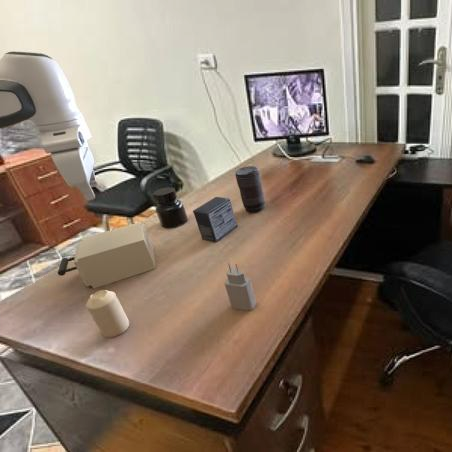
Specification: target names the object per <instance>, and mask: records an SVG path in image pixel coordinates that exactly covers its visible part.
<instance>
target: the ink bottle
mask: <svg viewBox="0 0 452 452" xmlns="http://www.w3.org/2000/svg"><path fill="white" fill-rule="evenodd" d="M152 195H153V197H154V200H155V203H156V204H157V205H156V207H155V212H156V215H157V218H158V220H159V223H160V226H161V227H162V228H165V229H171V228H176V227H180V226H182V225H184V224H185V223H187V221H188V215H187V212H186V209H185V205H184V203H183V202H182V200H180V199H178V194H177V192H176V189H175V187H173V186H171V187H170V186H169V187H163V188H162V187H161V188H159V189H156V190H155V191H154V192H153V193H152Z"/></svg>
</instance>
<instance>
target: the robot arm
mask: <svg viewBox="0 0 452 452" xmlns="http://www.w3.org/2000/svg"><path fill="white" fill-rule="evenodd" d="M24 121H31V122H32V123H33V125H34V127H35V130H36V131H37V133H38V136H39V138H40V145H41V148H42V149H43V151H44V153H46V154H50V157H51V159H52V161H53V163H54V166H55V167H56V168H57V170H58V172H59V174H60V175H61V177H62V178H63V180H64V182H65V183H66V184H67V185H68V186H69V187H70V188H78V190H79V191H80V192H81V193H82V195H83V197H84V199H85V200H86V201H92V200H94V199H96V194H95V191H94V189H92V188H94V187H97V186H98V180H97V179H96V175H95V170H94V166H95V157H94V155H93V153H92V150H91V148H90V146H89V145H90V144H89V143H88V141H89V140H90V139H92V134H91V131H90V129H89V127H88V124H87V122H86V119H85V117H84V115H83V113H82V112H81V111H80V109H79V107H78V106H77V104H76V100H75V94H74V92H73V89H72V87H71V85H70V83H69V81H68V79H67V76H66V75H65V73H64V71H63V69H62V67H61V66H60V65H59V63H58V62H57V61H56V60H55V59H54V58H52V57H51V56H50V55H48V54H45V53H41V52H40V53H39V52H31V51H30V52H27V51H7V52H6V53H4V54H3V56H2V57H1V58H0V130H1V129H8V128H11V127H13V126H16V125H17V124H20V123H23V122H24Z"/></svg>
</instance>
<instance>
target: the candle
mask: <svg viewBox="0 0 452 452" xmlns="http://www.w3.org/2000/svg"><path fill="white" fill-rule="evenodd" d="M85 307H86V309H87V310H88V312H89V314H90V315H91V317H92V319H93V321H94V323H95V324H96V326H97V328H98V329H99V331H100V333H101V334H102V336H103V337H104V338H107V339H108V338H109V339H110V338H115V337H118V336H120V335H121V334H123V333H124V332H126V331H127V330H128V329H129V327H130V320H129V318H128V316H127V314H126V312H125V310H124V308H123V306H122V305H121V302H120V300H119V298H118V297H117V294H116V293H115V292H114V291H111V290H106V289H100V290H97V291H96V292H95V293H91V295H89V298H88V300H87V301H86V304H85Z"/></svg>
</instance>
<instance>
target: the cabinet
mask: <svg viewBox="0 0 452 452" xmlns="http://www.w3.org/2000/svg"><path fill="white" fill-rule="evenodd" d="M80 243H81V244H80V249H79V253H78V258H77V260H78V262H79V263H80V265H81V267H82V269H83V271H84V273H85V274H86V276H87V278H88V280H89V282H90V284H91V285H90V286H91V288H92V289H96V288H100V287H102V286H106V285H109V284H112V283H115V282H118V281H121V280H125V279H128V278H131V277H134V276H137V275H140V274H144V273H146V272H149V271H153V270H155V269H156V268H157V267H156V266H157V265H156V261H155V260H156V259H155V254H154V247H153V245H152V243H151V241H150V238H149V235H148V233H147V230H146V228H145V226H144V223H143V221H139V222H135V223H131V224H129V225H125V226H124V225H123V226H122V227H117V228H113V229H110V230H107V231H103V232H99V233H96V234H92V235H87V236H85V237H84V236H83V237H81V240H80Z"/></svg>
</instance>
